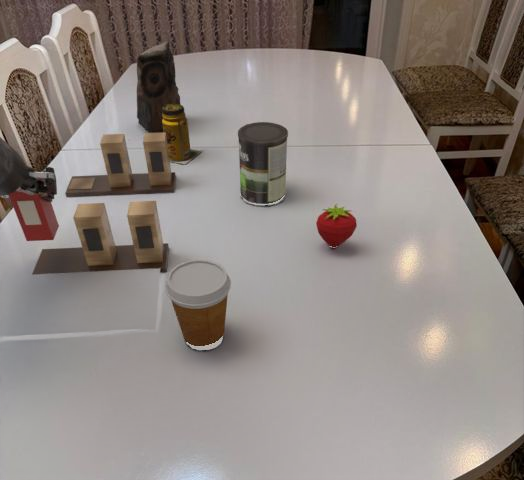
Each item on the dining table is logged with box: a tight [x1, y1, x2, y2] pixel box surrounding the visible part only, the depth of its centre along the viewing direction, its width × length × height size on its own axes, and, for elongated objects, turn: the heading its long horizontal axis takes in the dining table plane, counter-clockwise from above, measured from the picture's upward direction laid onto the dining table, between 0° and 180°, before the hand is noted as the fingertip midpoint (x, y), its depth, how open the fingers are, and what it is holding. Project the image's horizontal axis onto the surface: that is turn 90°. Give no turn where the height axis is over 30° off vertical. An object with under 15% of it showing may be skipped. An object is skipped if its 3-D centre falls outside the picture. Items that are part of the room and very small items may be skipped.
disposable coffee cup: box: [164, 259, 232, 346], centre depth 75 cm, size 10×10×12 cm
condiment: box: [162, 103, 203, 165], centre depth 121 cm, size 7×8×12 cm
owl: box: [136, 40, 182, 133], centre depth 131 cm, size 13×13×20 cm
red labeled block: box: [9, 183, 60, 242], centre depth 85 cm, size 5×5×10 cm
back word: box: [65, 132, 177, 198], centre depth 111 cm, size 24×8×11 cm, turn 94°
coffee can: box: [237, 121, 289, 207], centre depth 106 cm, size 10×10×14 cm
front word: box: [31, 200, 170, 275], centre depth 90 cm, size 24×8×11 cm, turn 94°
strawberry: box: [315, 203, 358, 247], centre depth 93 cm, size 6×8×10 cm
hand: (34, 196), depth 85 cm, fingers closed on red labeled block, 4 cm apart
